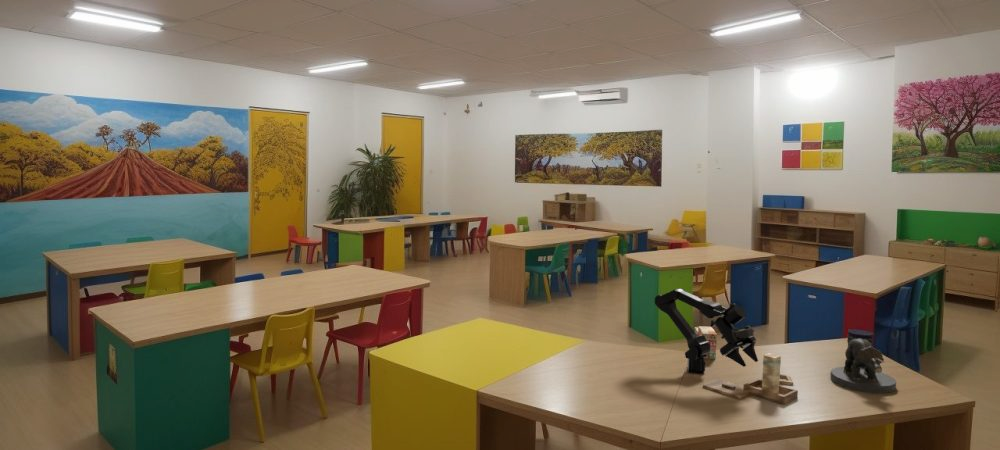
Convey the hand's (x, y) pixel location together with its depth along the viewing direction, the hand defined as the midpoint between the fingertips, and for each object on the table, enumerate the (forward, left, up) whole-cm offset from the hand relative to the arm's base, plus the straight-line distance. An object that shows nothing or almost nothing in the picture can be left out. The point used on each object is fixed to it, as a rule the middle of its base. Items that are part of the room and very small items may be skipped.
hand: (751, 363), depth 237 cm
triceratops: (+47, +17, -11) cm, 51 cm away
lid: (-9, -3, -10) cm, 14 cm away
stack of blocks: (-11, +46, -11) cm, 48 cm away
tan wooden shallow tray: (+6, -5, -10) cm, 13 cm away
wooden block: (+6, -6, -9) cm, 13 cm away
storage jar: (+55, +42, -10) cm, 70 cm away
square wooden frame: (+14, +13, -10) cm, 22 cm away
